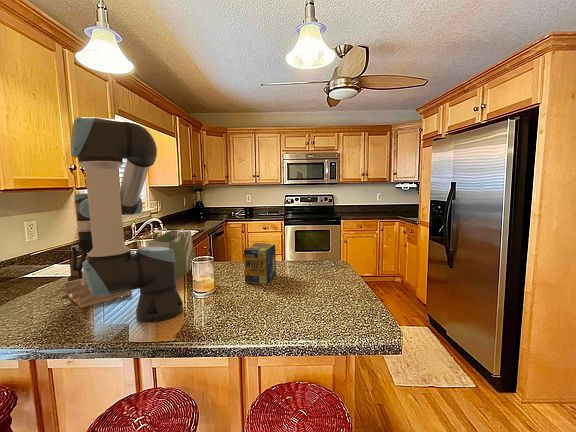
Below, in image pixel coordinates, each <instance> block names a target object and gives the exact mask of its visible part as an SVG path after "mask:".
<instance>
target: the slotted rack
mask: <svg viewBox="0 0 576 432" xmlns="http://www.w3.org/2000/svg"><path fill="white" fill-rule="evenodd" d="M85 280H86V278H85ZM64 289H65V290H64V291H65V296H67V297H68V298H69V299H70V300H71V301H73V303H75V304H76V306H78V307H79V308H80V309H82V308H86V307H88V306H93V305H97V304H101V303H104V301H105V302H108V301H112V300H115V299H114V298H116V299H118V298H117V297H119V298H122V297H121V296H123V297H125V296H124V295H127V296H129V295H128V294H131V295H133V294H132V291H133V290H130V291H126V292H121V293H117V294H113V295H111V296H109V295H108V296H102V297H94V296H93V295H92V294H91V293H90V290H89V288H88V285H87V284H86V285H82V283H81V279H79V280H75V281H70V282H68V281H66V282H64ZM111 299H112V300H111ZM107 300H108V301H107Z"/></svg>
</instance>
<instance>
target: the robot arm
mask: <svg viewBox="0 0 576 432" xmlns="http://www.w3.org/2000/svg"><path fill="white" fill-rule="evenodd" d="M70 138H71V139H70V154H71V156H72V157H73V158H77V160H78V161H77V163H78V164H79V166H81V167H82V168H83V169H84V170H85V171H84V172H85V180H86V189H87V192H86V193H85V192H84V193H76V194H75V195H74V204H75V213H76V223H77V224H76V225H77V230H78V232H77V235H78V236H77V237H78V243H77V244H75V245H76V246H71V247H70V249H71V250H70V249H69V250H70V251H71V254H72V256H71V258H72V270H73V271H77V272H78V278H79V279H81V283H82V285H86V284H85V278H86V282H87V285H88V288H89V290H90V293H91V294H92V295H93V296H94V297H102V296H108V295H109V296H111V295H113V294H117V293H121V292H126V291H130V290H131V291H133V290H138V289H139V291H140V292H139V298H138V302H137V306H136V309H135V318H136V320H138V321H140V322H146V323H155V322H156V323H157V322H162V321H166V320H169V319H172V318H175V317H176V316H179V315H180V314H182V312H183V310H184V303H183V299H182V297H181V296H180V293H179V292H178V287H177V279H176V271H175V258H174V252H173V250H172V249H170V248H166V247H148V246H142V247H138V248H137V249H136V250H135V251H136V252H135V253H131V248H130V247H128V246H127V245H126V243H125V233H124V223H123V216H132V215H138V214H141V213H142V212H143V200H142V198H141V195H142V194H141V193H142V191H143V188H144V185H145V182H146V179H147V176H148V173H149V171H150V168H151V167H152V166H153V165H154V164H155V162H156V159H157V156H158V149H157V147H158V146H157V143H156V142H155V141H156V140H154V137H153V135H152V134H151V133H150V132H149V131H148V130H147V128H146V127H144V126H143V125H141V124H139V123H137V122H133V121H129V120H117V119H109V118H102V117H94V116H93V117H92V116H91V117H87V116H86V117H84V116H80V117H76V118H75V119H74V121H73V124H72V129H71V136H70ZM123 159H124V160H126V163H125V166H124V171H123V175H122V178H121V183H120V178H119V169H120V167H122V166H123V165H124V162H123ZM79 249H80V250H81V254H80V257H79V259H80V261H79V264H78V267H77V258H78V251H79ZM86 258H87V259H86Z"/></svg>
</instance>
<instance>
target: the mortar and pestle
mask: <svg viewBox="0 0 576 432" xmlns="http://www.w3.org/2000/svg"><path fill="white" fill-rule="evenodd" d="M76 245H77V244H74V243H73V244H72V243H71V244H70V245H69V246H68V249H69V250H70V251H71V249H70V247H71V246H76ZM70 256H71V258H70V259H69V268H70V276H69V277H68V278H67V282H70V281H75V280H79V278H78V272H77V271H73V270H72V253H70ZM79 261H80V257H77V267H78V264H79Z"/></svg>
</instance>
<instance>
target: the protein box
mask: <svg viewBox="0 0 576 432" xmlns="http://www.w3.org/2000/svg"><path fill="white" fill-rule="evenodd" d="M276 255H277V254H276V243H263V242H262V243H260V242H258V243H257V242H255V243H253V244H251V245H250V246H247V248H245V249H243V264H244V284H247V285H248V284H249V285H265V286H266V285H268V284H269V283H270V282H271V281H272V280H273V279H274V278H275V277H276V275H277V263H276V262H277V261H276V260H277V258H276V257H277V256H276Z"/></svg>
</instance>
